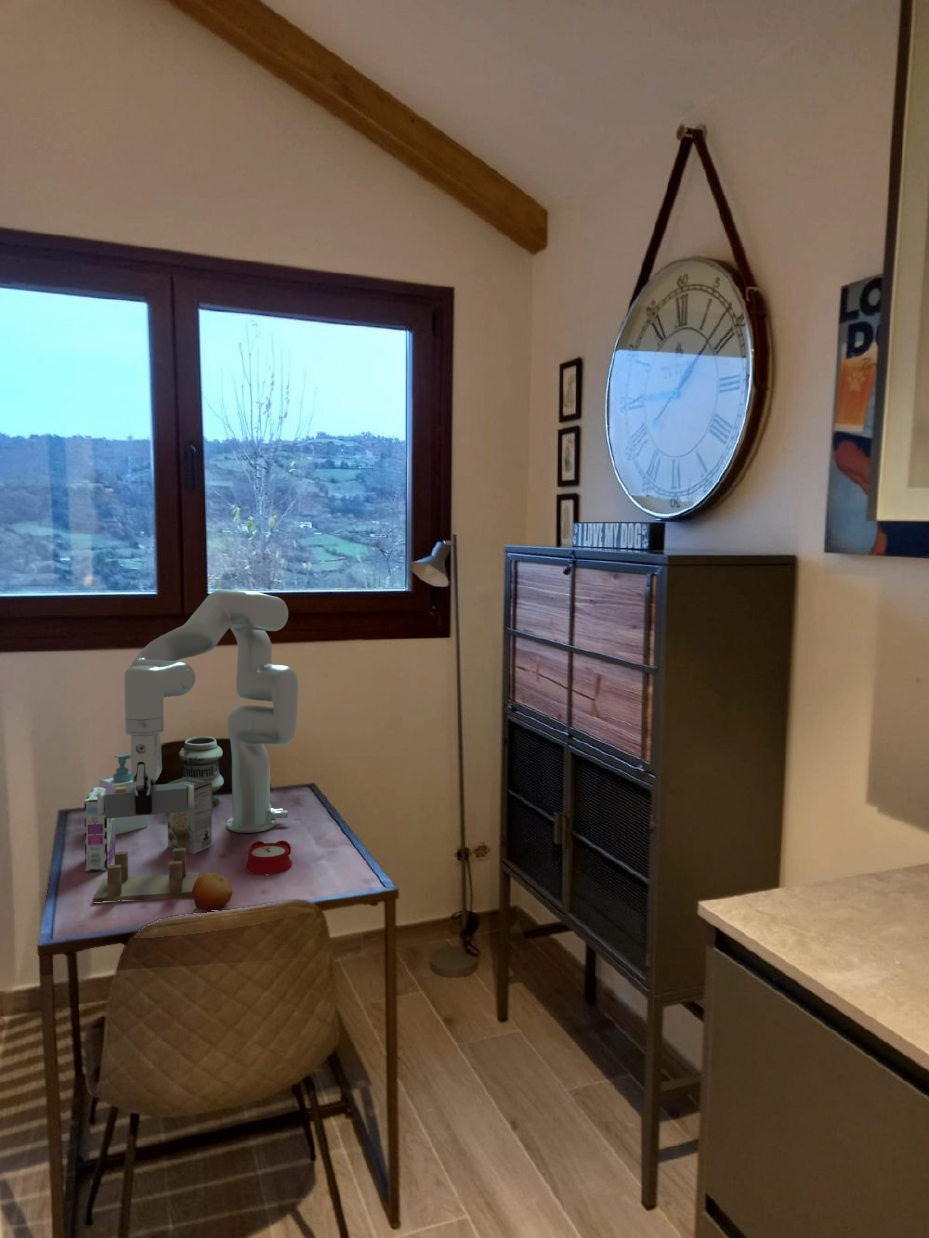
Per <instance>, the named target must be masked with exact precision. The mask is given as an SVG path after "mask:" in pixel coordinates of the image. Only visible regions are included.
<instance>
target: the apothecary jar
mask: <svg viewBox="0 0 929 1238" xmlns="http://www.w3.org/2000/svg"><path fill="white" fill-rule="evenodd" d="M222 757H223V749H222V748H221V747H220V746H219V745H218V743H217V739H216V738H215V737H213V736H194V737H191V738H188V739H186V740H185V741H184V746H183V747H182V748H181V750H180V751H179V752H178V758H179V760H180V761H181V762H182V765H183V767H182V768H183V769H182V771H183V772H182V773H183V774H182V775H183V776H182V777H181V778H183V777H190V778H194V779H198V780H202V781H206V782H211V783H212V794H213V793H216V792H217V791H218V790H220V789H221V788H222V787H223V785H224V777H223V776H222V775H221V774H220V770H219V760H220V759H221V758H222ZM219 800H220V799H219V798H218V797H217V796H215V795H212V807H213V806H215V804H216V805H218V804H219V803H220V801H219ZM218 802H219V803H218Z"/></svg>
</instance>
